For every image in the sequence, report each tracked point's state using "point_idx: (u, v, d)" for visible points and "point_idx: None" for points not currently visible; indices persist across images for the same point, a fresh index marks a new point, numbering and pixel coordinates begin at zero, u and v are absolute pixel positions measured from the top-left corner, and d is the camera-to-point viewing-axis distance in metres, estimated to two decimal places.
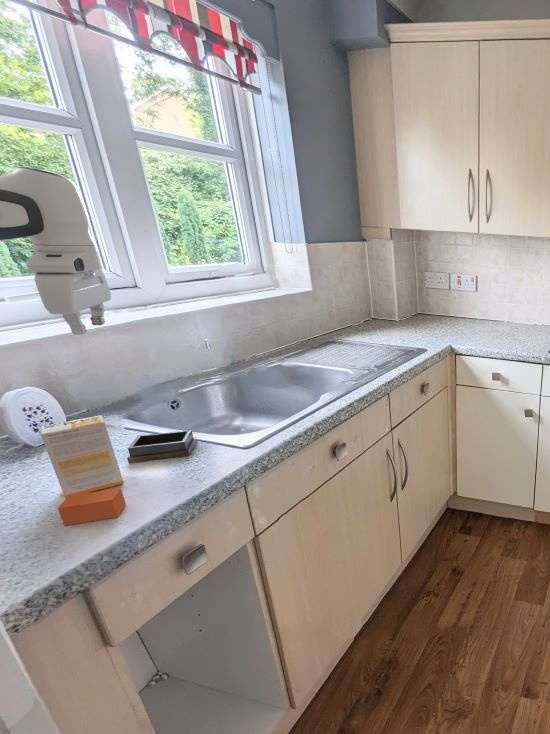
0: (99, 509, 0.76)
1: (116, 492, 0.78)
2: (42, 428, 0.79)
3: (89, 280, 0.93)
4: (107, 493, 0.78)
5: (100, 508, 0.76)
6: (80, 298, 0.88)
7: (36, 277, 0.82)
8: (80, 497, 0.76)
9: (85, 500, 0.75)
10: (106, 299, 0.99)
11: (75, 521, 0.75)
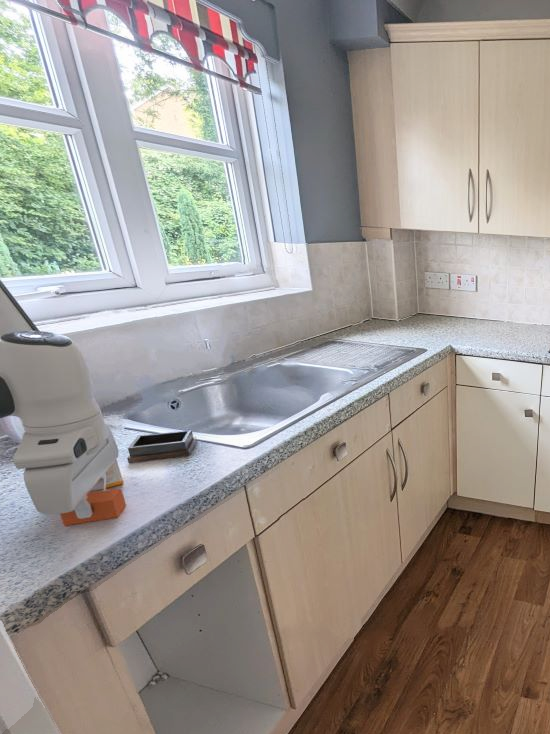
0: (99, 509, 0.76)
1: (116, 492, 0.78)
2: None
3: None
4: (107, 493, 0.78)
5: (100, 508, 0.76)
6: (81, 484, 0.71)
7: (26, 475, 0.65)
8: None
9: None
10: (113, 461, 0.81)
11: (75, 521, 0.75)
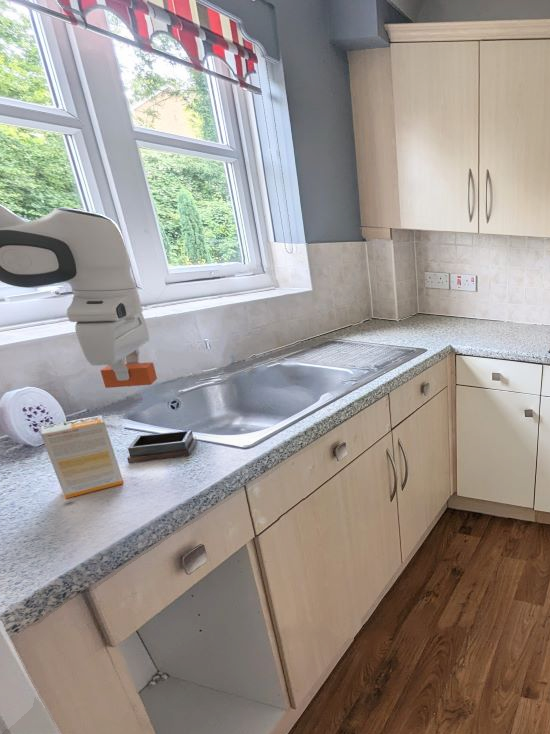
0: (135, 375, 0.87)
1: (149, 364, 0.89)
2: (42, 428, 0.79)
3: (129, 324, 0.87)
4: (141, 364, 0.89)
5: (136, 374, 0.87)
6: (121, 345, 0.82)
7: (77, 327, 0.76)
8: None
9: None
10: (145, 341, 0.93)
11: (115, 384, 0.86)
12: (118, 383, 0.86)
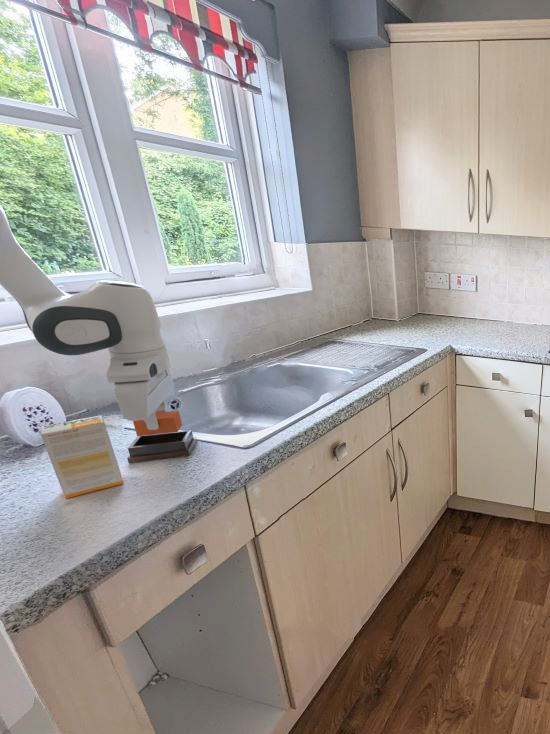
0: (163, 424, 0.96)
1: (175, 413, 0.98)
2: (42, 428, 0.79)
3: None
4: (169, 413, 0.98)
5: (164, 423, 0.96)
6: (152, 400, 0.91)
7: (115, 387, 0.85)
8: None
9: None
10: (171, 390, 1.02)
11: (145, 433, 0.95)
12: (148, 432, 0.95)
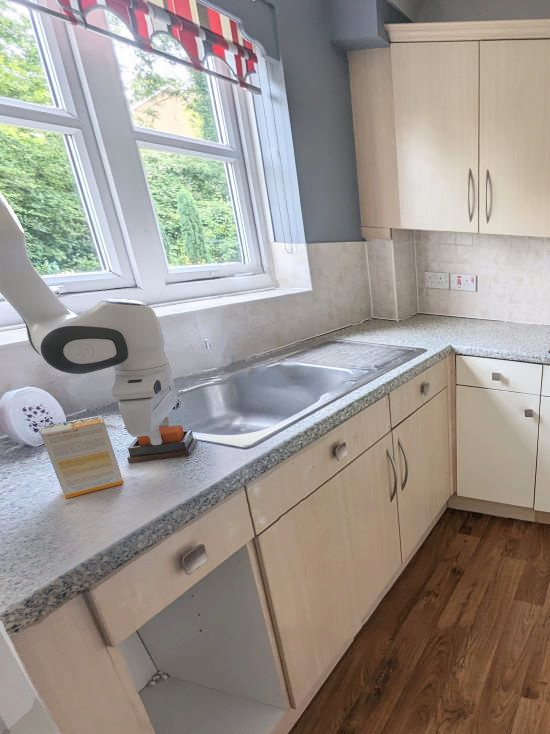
0: (167, 439, 0.97)
1: (179, 427, 0.99)
2: (42, 428, 0.79)
3: None
4: (172, 428, 0.99)
5: (168, 438, 0.97)
6: (156, 416, 0.92)
7: (120, 405, 0.86)
8: None
9: None
10: (174, 405, 1.03)
11: None
12: None
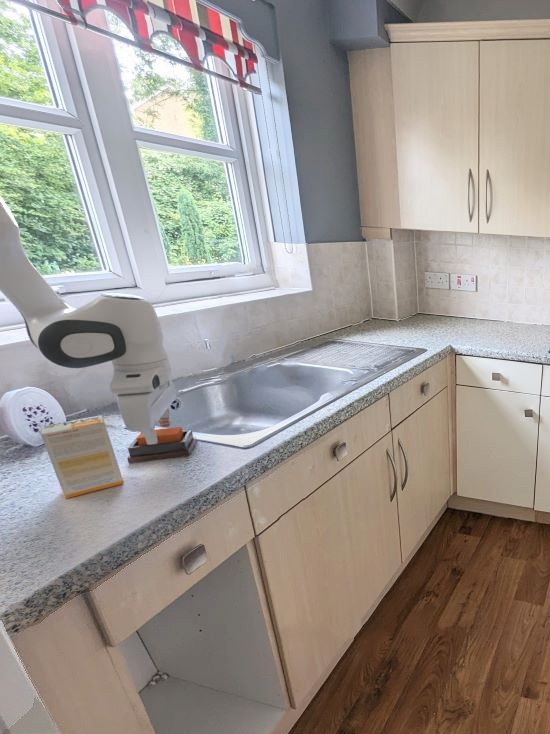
0: (167, 441, 0.97)
1: (178, 429, 1.00)
2: (42, 428, 0.79)
3: None
4: (172, 429, 0.99)
5: (168, 440, 0.97)
6: (155, 411, 0.92)
7: (118, 399, 0.86)
8: None
9: None
10: (172, 400, 1.03)
11: None
12: None
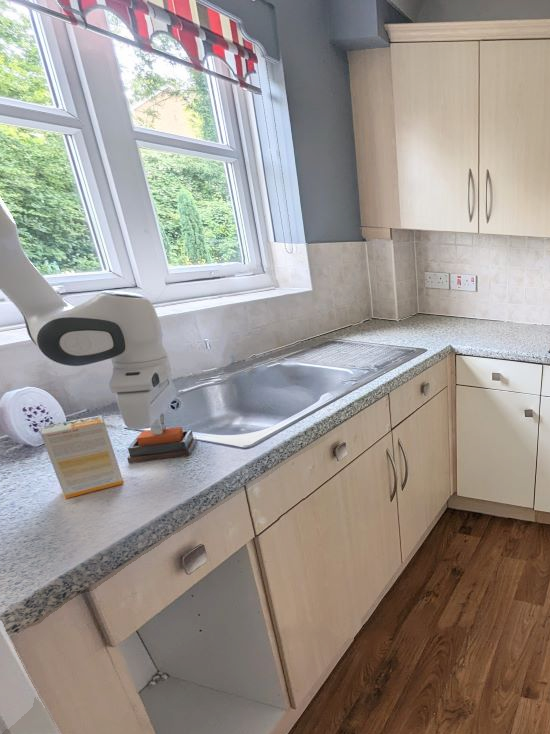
0: (167, 441, 0.97)
1: (178, 429, 1.00)
2: (42, 428, 0.79)
3: None
4: (172, 429, 0.99)
5: (168, 440, 0.97)
6: (154, 409, 0.92)
7: (118, 397, 0.85)
8: None
9: None
10: (172, 399, 1.02)
11: None
12: None
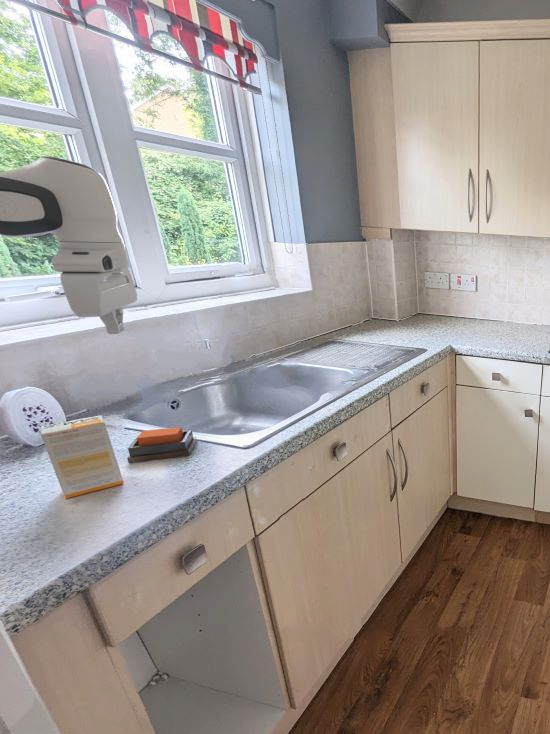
0: (167, 441, 0.97)
1: (178, 429, 1.00)
2: (42, 428, 0.79)
3: (116, 280, 0.86)
4: (172, 429, 0.99)
5: (168, 440, 0.97)
6: (107, 299, 0.81)
7: (62, 276, 0.75)
8: (152, 432, 0.98)
9: (156, 433, 0.97)
10: (133, 300, 0.92)
11: None
12: None
